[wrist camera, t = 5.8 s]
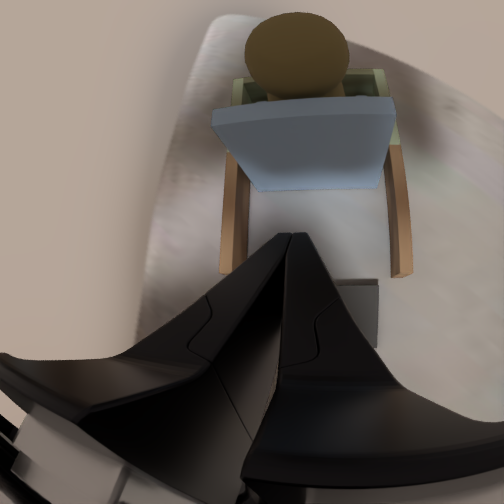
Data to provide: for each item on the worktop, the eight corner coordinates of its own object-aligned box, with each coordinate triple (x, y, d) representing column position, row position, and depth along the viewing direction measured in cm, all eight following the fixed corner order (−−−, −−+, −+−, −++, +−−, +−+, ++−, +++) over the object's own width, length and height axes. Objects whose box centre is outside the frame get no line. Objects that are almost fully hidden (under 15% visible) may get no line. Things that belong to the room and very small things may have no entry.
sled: (376, 188, 20) (396, 114, 11) (258, 191, 22) (210, 126, 13) (365, 106, 21) (369, 20, 12) (261, 112, 23) (223, 33, 15)
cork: (298, 191, 21) (260, 95, 11) (262, 130, 23) (210, 28, 12) (370, 155, 20) (384, 44, 10) (328, 98, 22) (311, -13, 11)
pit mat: (375, 346, 18) (376, 347, 18) (256, 343, 20) (254, 344, 20) (377, 285, 19) (378, 285, 18) (258, 285, 21) (256, 284, 21)
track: (402, 277, 18) (413, 273, 16) (234, 277, 21) (219, 272, 19) (380, 92, 21) (383, 69, 18) (244, 100, 24) (233, 79, 21)
